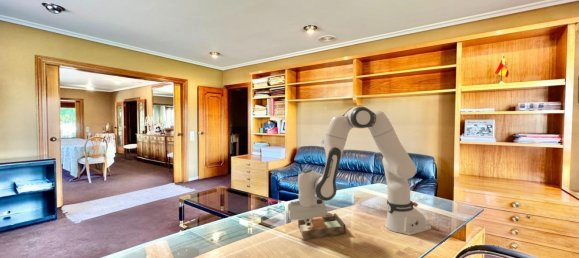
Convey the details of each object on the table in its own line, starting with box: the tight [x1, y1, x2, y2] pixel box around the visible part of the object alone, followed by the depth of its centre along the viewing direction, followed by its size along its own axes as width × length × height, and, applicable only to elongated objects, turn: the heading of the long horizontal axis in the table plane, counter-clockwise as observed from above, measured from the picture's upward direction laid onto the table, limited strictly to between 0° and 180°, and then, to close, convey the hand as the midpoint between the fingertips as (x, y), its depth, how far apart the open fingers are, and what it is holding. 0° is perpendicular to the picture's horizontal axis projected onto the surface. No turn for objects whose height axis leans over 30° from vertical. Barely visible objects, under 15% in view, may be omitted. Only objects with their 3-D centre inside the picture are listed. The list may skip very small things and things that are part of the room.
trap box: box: [297, 213, 347, 240], centre depth 138 cm, size 22×15×5 cm
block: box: [311, 217, 325, 229], centre depth 138 cm, size 6×5×4 cm
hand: (308, 225), depth 137 cm, fingers closed
